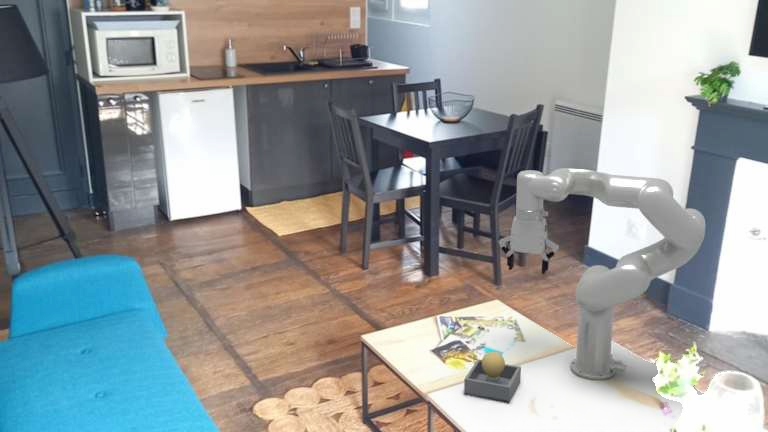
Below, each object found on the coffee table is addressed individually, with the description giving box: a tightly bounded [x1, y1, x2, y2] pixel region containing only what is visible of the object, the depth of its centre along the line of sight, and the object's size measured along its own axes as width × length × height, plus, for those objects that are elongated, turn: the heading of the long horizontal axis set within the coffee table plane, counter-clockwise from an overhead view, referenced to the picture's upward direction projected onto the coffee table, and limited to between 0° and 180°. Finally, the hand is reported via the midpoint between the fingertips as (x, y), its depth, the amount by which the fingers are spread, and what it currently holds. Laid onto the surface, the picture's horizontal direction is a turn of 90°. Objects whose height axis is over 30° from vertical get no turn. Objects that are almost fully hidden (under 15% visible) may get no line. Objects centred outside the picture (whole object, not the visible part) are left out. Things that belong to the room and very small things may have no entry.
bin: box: [463, 359, 522, 404], centre depth 201 cm, size 13×13×5 cm
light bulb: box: [481, 351, 506, 384], centre depth 200 cm, size 6×6×10 cm
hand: (527, 270), depth 211 cm, fingers open, 9 cm apart
